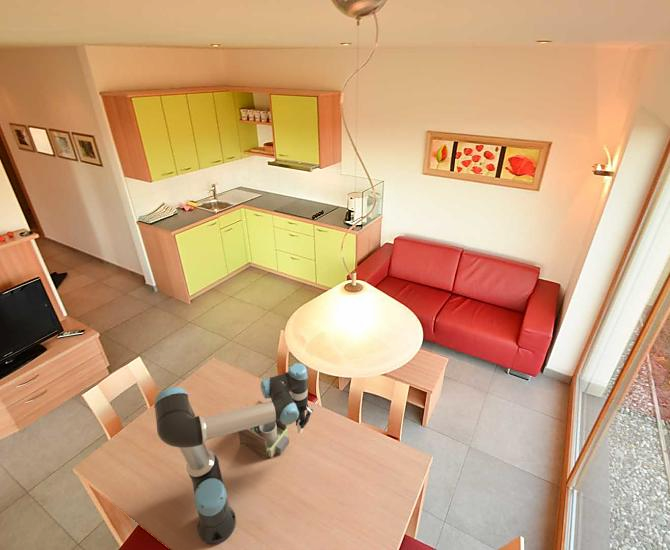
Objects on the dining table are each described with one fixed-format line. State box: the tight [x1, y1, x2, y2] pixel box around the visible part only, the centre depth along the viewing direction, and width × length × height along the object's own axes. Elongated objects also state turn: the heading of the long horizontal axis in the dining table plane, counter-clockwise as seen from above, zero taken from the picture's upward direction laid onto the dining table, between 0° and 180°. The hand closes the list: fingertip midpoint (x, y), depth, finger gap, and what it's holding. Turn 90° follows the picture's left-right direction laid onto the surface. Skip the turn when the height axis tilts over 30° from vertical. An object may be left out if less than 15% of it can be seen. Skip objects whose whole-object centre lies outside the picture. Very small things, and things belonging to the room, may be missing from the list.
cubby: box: [237, 400, 288, 459], centre depth 195 cm, size 17×17×15 cm
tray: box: [251, 427, 290, 458], centre depth 196 cm, size 14×20×5 cm
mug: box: [254, 421, 278, 447], centre depth 195 cm, size 12×8×11 cm
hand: (300, 431), depth 179 cm, fingers closed
